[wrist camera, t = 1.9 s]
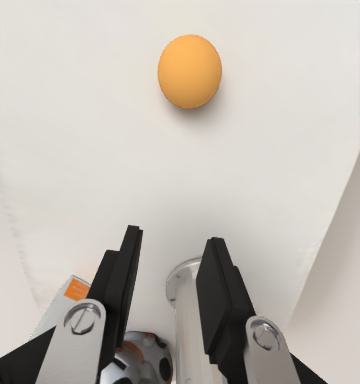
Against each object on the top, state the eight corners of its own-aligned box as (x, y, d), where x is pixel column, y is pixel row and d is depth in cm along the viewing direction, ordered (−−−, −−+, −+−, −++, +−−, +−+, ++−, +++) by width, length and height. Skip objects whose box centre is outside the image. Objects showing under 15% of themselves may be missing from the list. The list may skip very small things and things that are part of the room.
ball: (207, 111, 24) (217, 116, 19) (155, 101, 23) (150, 102, 18) (221, 50, 22) (238, 35, 16) (164, 37, 21) (161, 16, 15)
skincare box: (104, 290, 35) (73, 376, 24) (90, 303, 36) (56, 391, 26) (71, 273, 33) (23, 358, 23) (58, 287, 35) (6, 375, 24)
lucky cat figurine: (109, 369, 45) (55, 446, 32) (110, 314, 45) (54, 369, 31) (176, 388, 41) (145, 486, 28) (176, 328, 41) (146, 397, 27)
